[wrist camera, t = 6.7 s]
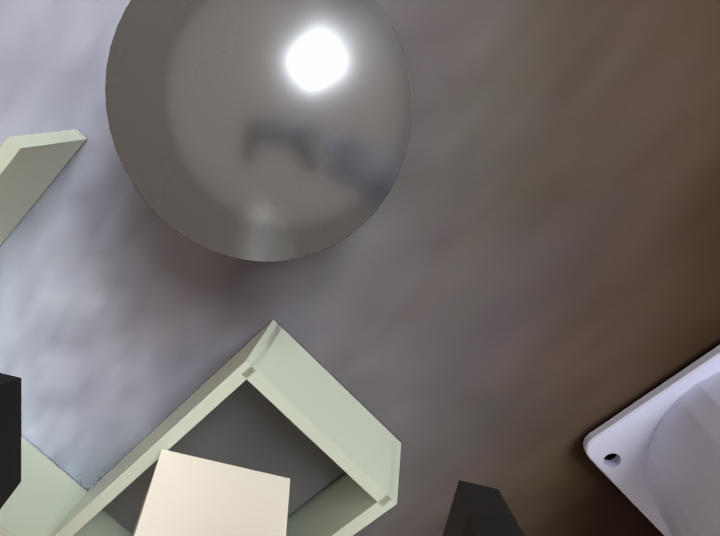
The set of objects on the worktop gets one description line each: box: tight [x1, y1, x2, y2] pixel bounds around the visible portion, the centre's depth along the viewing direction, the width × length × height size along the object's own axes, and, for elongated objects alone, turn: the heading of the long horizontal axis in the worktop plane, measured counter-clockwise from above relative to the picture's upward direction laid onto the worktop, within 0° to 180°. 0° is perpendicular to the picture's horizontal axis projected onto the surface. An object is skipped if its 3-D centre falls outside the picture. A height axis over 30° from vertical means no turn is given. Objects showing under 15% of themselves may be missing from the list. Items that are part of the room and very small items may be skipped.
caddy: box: [0, 129, 401, 536], centre depth 18 cm, size 14×11×3 cm
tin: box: [105, 0, 414, 262], centre depth 14 cm, size 7×7×5 cm
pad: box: [103, 379, 345, 534], centre depth 20 cm, size 5×10×1 cm, turn 134°
